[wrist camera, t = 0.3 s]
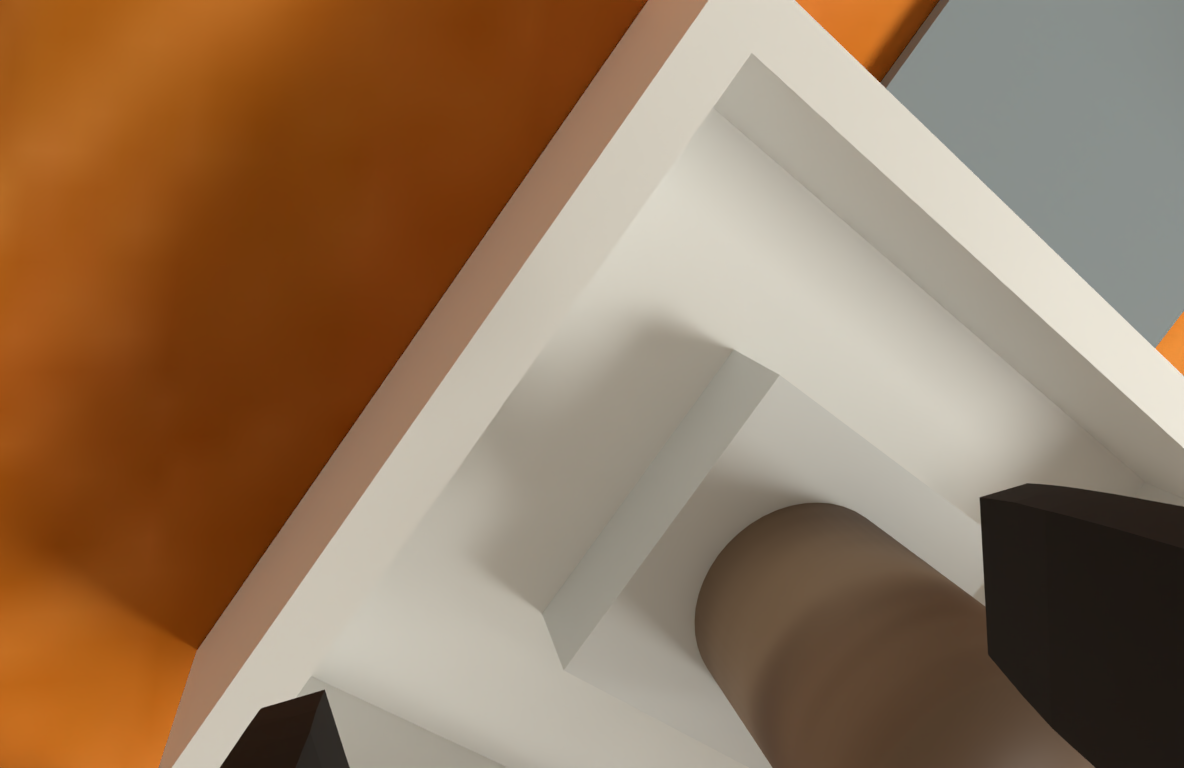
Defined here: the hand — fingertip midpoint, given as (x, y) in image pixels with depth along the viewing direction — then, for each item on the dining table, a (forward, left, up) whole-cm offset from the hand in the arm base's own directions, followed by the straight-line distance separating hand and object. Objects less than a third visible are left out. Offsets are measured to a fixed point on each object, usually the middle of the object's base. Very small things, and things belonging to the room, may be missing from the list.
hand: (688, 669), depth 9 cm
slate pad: (-7, -14, -10) cm, 18 cm away
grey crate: (-6, 0, -10) cm, 12 cm away
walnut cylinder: (-6, 0, -7) cm, 9 cm away
